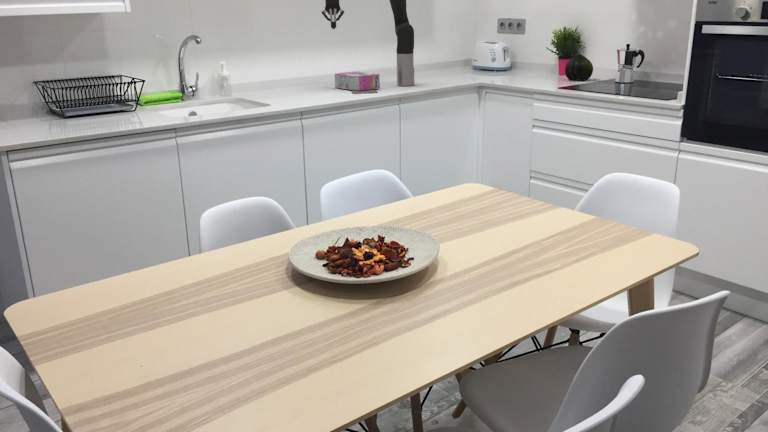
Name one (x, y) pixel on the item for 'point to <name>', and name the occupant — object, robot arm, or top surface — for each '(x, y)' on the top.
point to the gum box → (357, 81)
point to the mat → (364, 91)
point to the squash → (578, 68)
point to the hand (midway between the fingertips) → (333, 28)
